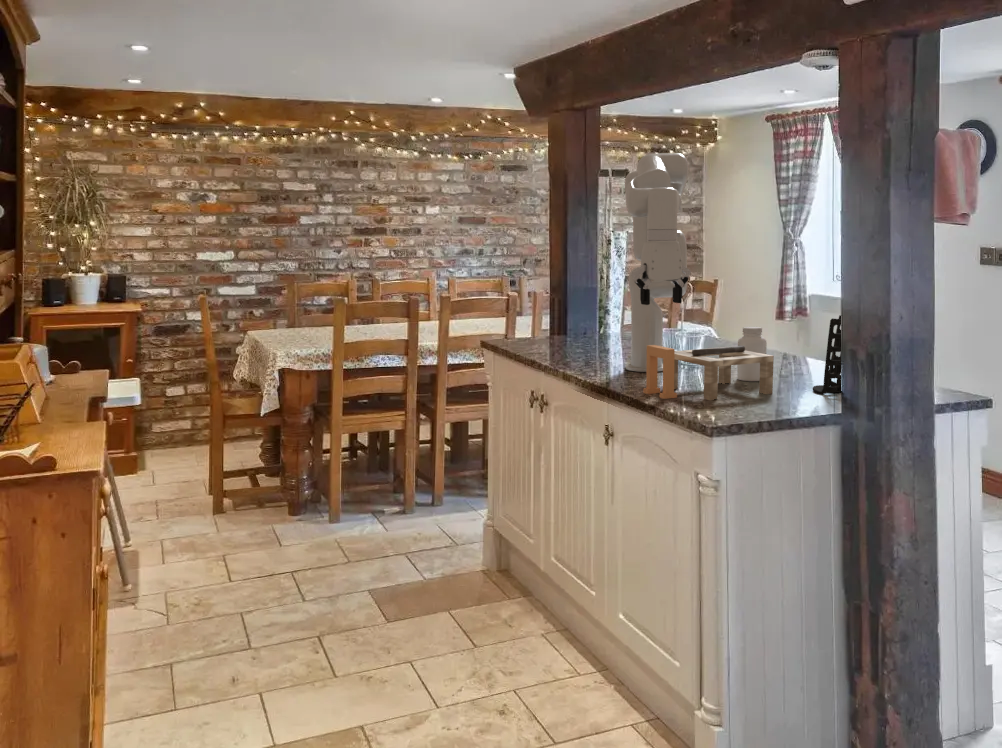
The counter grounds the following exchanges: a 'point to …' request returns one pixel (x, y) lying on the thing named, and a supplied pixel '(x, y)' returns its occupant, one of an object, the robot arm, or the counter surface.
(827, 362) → the holder
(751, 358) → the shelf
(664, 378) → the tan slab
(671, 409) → the counter surface
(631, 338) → the robot arm
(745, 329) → the pill bottle
